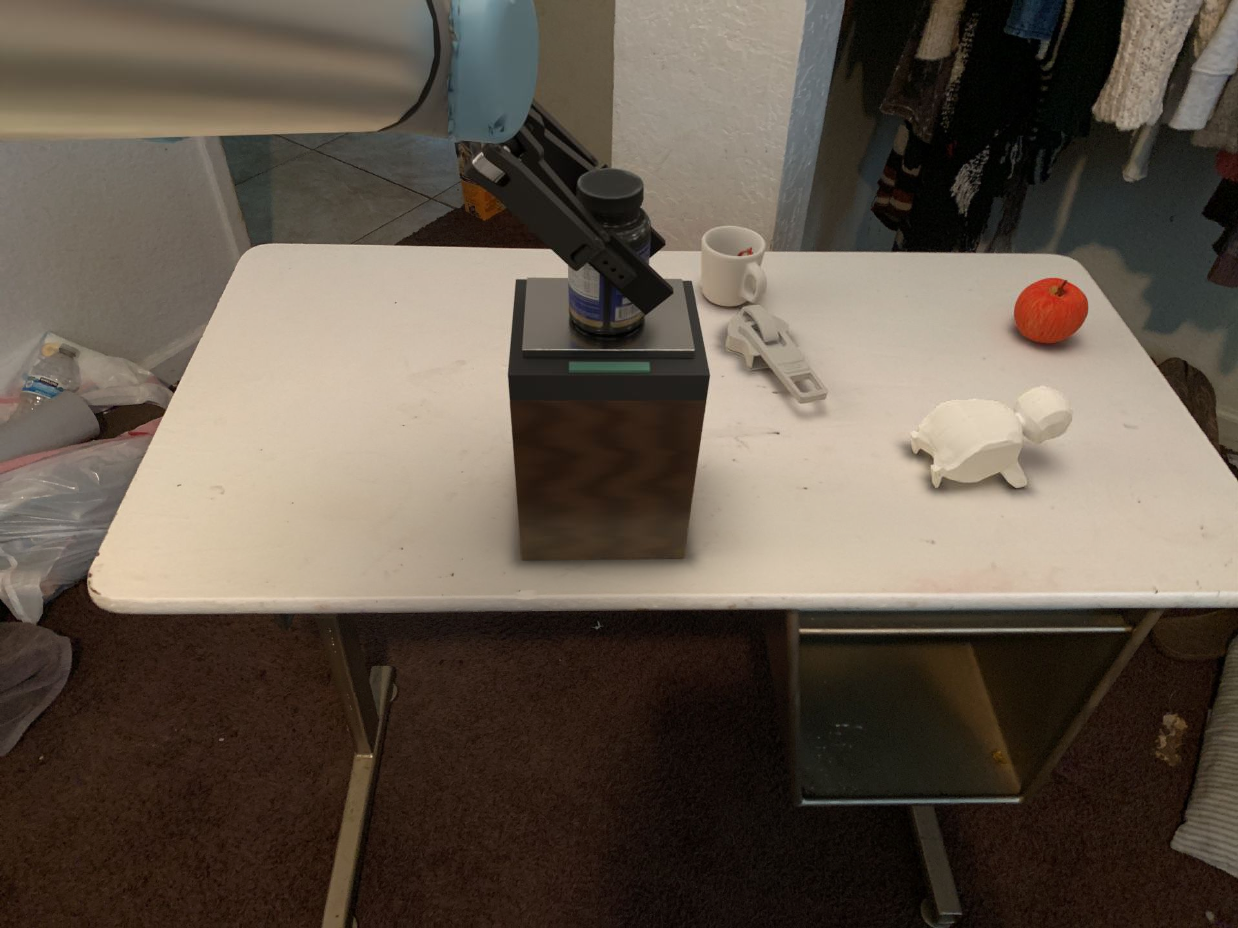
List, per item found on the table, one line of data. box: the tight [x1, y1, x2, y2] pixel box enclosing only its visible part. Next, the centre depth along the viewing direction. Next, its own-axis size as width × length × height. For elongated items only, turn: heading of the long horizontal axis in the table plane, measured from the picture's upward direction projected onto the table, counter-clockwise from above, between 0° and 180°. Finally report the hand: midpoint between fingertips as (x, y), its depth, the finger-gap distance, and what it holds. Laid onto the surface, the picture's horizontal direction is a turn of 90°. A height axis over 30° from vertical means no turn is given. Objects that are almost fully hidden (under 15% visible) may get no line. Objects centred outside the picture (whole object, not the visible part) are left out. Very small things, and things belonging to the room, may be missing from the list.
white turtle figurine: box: [909, 385, 1074, 489], centre depth 85 cm, size 9×8×15 cm
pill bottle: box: [567, 167, 652, 334], centre depth 62 cm, size 6×6×11 cm
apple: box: [1013, 277, 1089, 344], centre depth 102 cm, size 8×8×8 cm
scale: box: [507, 277, 711, 402], centre depth 67 cm, size 15×13×3 cm
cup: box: [700, 225, 768, 307], centre depth 105 cm, size 11×8×8 cm
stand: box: [509, 400, 707, 561], centre depth 75 cm, size 15×13×19 cm
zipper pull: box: [724, 303, 829, 405], centre depth 97 cm, size 8×18×4 cm, turn 18°
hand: (655, 276), depth 63 cm, fingers closed on pill bottle, 6 cm apart
